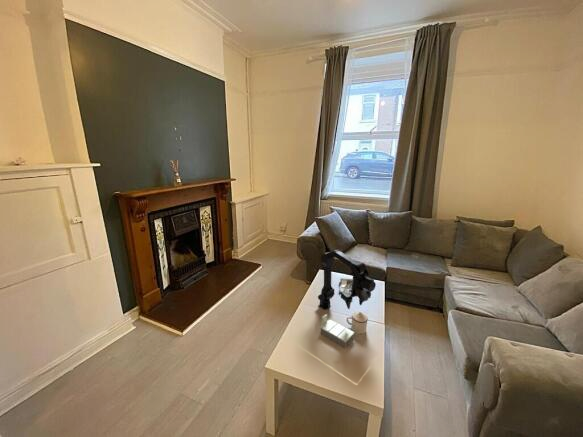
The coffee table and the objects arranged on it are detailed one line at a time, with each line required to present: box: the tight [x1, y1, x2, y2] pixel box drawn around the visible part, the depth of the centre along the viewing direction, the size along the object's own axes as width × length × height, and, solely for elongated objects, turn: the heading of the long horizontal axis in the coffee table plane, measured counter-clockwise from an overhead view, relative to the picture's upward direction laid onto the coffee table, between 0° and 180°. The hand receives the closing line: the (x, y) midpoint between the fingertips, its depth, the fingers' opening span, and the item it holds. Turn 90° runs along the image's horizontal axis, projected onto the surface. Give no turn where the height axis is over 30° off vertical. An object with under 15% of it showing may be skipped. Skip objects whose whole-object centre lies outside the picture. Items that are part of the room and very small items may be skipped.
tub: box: [320, 328, 355, 349], centre depth 141 cm, size 16×9×4 cm, turn 48°
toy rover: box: [338, 277, 353, 295], centre depth 190 cm, size 18×10×12 cm
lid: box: [319, 314, 355, 342], centre depth 140 cm, size 18×10×5 cm, turn 48°
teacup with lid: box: [346, 311, 369, 335], centre depth 147 cm, size 12×9×12 cm
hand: (354, 306), depth 148 cm, fingers open, 9 cm apart
